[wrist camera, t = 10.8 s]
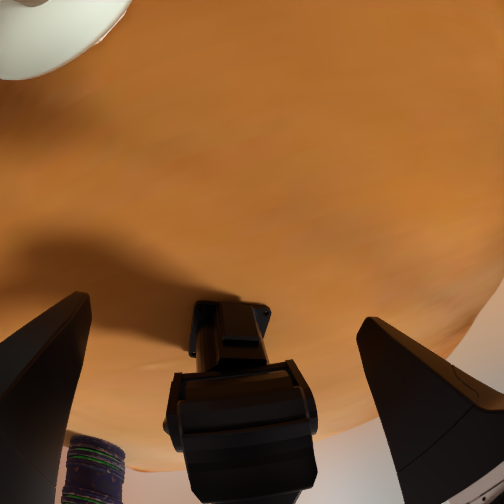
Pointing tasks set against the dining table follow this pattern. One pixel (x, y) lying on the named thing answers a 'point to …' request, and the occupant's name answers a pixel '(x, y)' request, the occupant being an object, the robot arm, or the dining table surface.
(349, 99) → the dining table surface
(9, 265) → the dining table surface
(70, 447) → the storage jar
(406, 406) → the robot arm
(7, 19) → the lid
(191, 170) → the dining table surface
